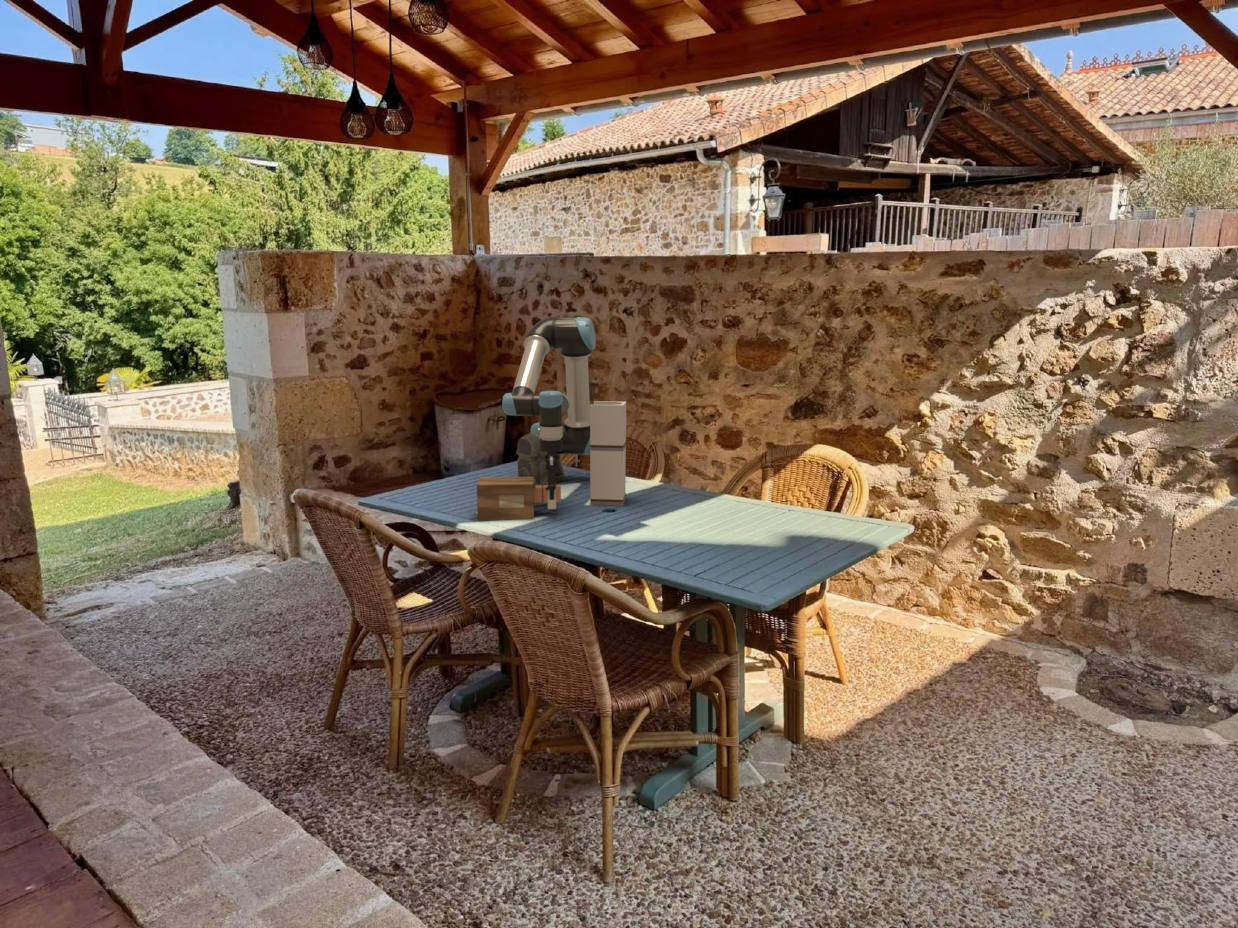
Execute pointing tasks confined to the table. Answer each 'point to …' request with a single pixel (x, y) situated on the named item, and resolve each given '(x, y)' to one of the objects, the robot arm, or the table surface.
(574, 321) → the robot arm
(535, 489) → the orange banded bar
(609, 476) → the beige square tower
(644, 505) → the table surface
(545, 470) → the grey backpack
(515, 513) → the box
